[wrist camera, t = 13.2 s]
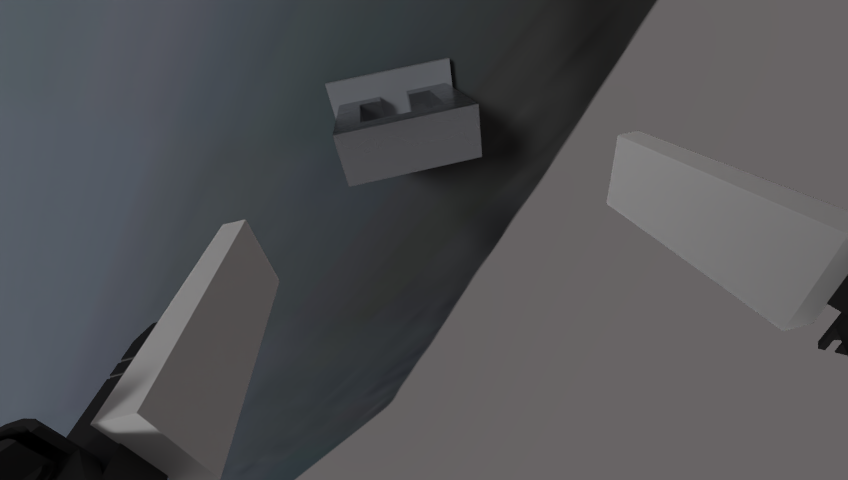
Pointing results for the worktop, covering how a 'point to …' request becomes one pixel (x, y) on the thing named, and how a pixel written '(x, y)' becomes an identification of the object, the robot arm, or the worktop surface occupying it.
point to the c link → (407, 134)
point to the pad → (389, 85)
